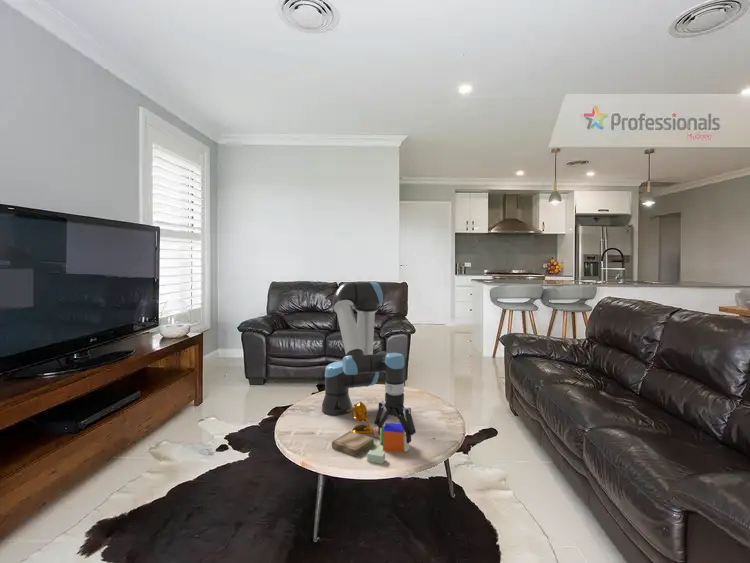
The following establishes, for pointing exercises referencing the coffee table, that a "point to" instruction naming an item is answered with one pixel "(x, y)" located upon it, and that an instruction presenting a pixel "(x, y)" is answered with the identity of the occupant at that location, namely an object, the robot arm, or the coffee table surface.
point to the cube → (393, 437)
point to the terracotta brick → (376, 432)
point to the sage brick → (375, 456)
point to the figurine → (361, 419)
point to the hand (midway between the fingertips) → (394, 446)
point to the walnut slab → (352, 443)
